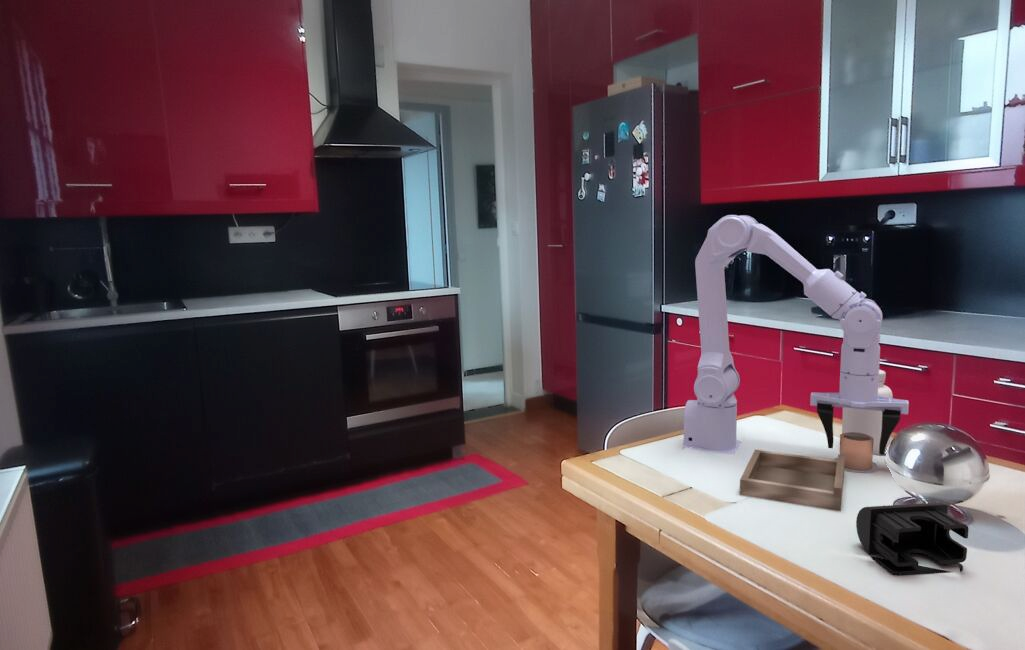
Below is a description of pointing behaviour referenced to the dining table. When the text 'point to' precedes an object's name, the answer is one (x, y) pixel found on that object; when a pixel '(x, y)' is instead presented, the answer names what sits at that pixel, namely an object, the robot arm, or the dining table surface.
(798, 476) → the wooden tray
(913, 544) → the end cap
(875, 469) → the saucer
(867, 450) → the pot
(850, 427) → the pill bottle
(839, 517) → the dining table surface
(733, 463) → the dining table surface
